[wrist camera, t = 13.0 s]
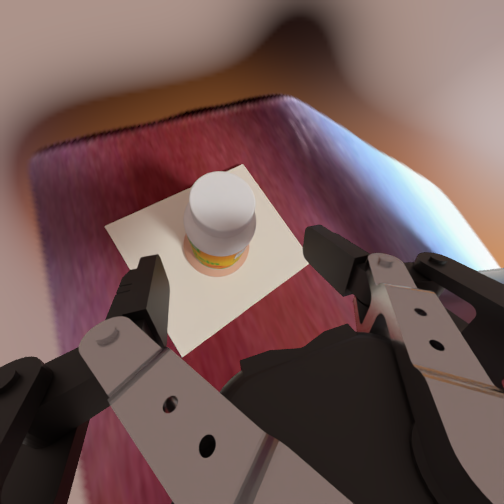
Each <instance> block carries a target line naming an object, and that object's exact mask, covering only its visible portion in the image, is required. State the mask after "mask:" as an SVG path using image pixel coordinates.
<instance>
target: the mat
mask: <svg viewBox="0 0 504 504" xmlns="http://www.w3.org/2000/svg"><path fill="white" fill-rule="evenodd" d="M226 172H229V173H232V174H235V175H237V176H239V177H240V178H242V179H243V180H244V181H245V182H246V183H247V184H248V185H249V186H250V188H251V189H252V191H253V194H254V197H255V215H256V229H255V233H254V235H253V238H252V240H251V241H250V243H249V253H248V256H247V258H246V260H245V262H244V263H243V265H242V266H241V267H240V268H239V269H238V270H237V271H235V272H234V273H232V274H229V275H227V276H223V277H211V276H207V275H204V274H202V273H200V272H198V271H197V270H195V269H194V268H193V267H192V266H191V264H190V263H189V262H188V260H187V258H186V256H185V253H184V246H183V244H184V237H185V235H186V232H185V228H184V222H183V217H184V211H185V208H186V206H187V204H188V202H189V194H190V190H191V188H192V187H191V188H188V189H186V190H184V191H182V192H180V193H177V194H175V195H173V196H171V197H168V198H166V199H164V200H162V201H160V202H157V203H155V204H153V205H151V206H148V207H146V208H144V209H142V210H139V211H137V212H135V213H133V214H131V215H128V216H126V217H124V218H122V219H119V220H117V221H115V222H113V223H111V224H108V225H106V226H105V228H106V230H107V232H108V233H109V235H110V237H111V238H112V240H113V242H114V243H115V245H116V247H117V248H118V250H119V252H120V253H121V255H122V257H123V259H124V260H125V262H126V264H127V265H128V267H129V269H130V270H132V269H137V267H138V264H139V260H140V258H141V257H145V256H150V255H156V254H158V255H159V256H160V258H161V261H162V263H163V266H164V269H165V272H166V275H167V278H168V281H169V285H170V298H169V313H168V328H167V333H168V334H169V336H170V338H171V339H172V341H173V343H174V344H175V346H176V348H177V350H178V351H179V353H180V355H181V356H182V357H183V356H185V355H186V354H188V353H189V352H190V351H192V350H193V349H194V348H196V347H197V346H198V345H200V344H201V343H202V342H204V341H205V340H206V339H208V338H209V337H210V336H212V335H213V334H215V333H216V332H217V331H219V330H220V329H221V328H223V327H224V326H225V325H227V324H228V323H229V322H231V321H232V320H233V319H235V318H236V317H238V316H239V315H240V314H242V313H243V312H244V311H246V310H247V309H248V308H250V307H251V306H252V305H254V304H255V303H256V302H258V301H259V300H260V299H262V298H263V297H265V296H266V295H267V294H269V293H270V292H271V291H273V290H274V289H275V288H277V287H278V286H279V285H281V284H282V283H283V282H285V281H286V280H288V279H289V278H290V277H292V276H293V275H294V274H296V273H297V272H298V271H300V270H301V269H302V268H304V267H305V266H306V265H308V264H309V263H308V262H307V261H306V260H305V258H304V256H303V248H302V246H301V245H300V243H299V242H298V241H297V239H296V238H295V236H294V235H293V234H292V232H291V231H290V229H289V228H288V227H287V225H286V224H285V222H284V221H283V220H282V218H281V217H280V215H279V214H278V212H277V211H276V210H275V208H274V207H273V205H272V204H271V203H270V201H269V200H268V198H267V197H266V196H265V194H264V193H263V191H262V190H261V189H260V187H259V186H258V184H257V183H256V182H255V180H254V179H253V177H252V176H251V175H250V173H249V172H248V170H247V169H246V168H245V166H244V165H243V164H242V165H240V166H237V167H235V168H233V169H231V170H229V171H226Z"/></svg>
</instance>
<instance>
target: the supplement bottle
mask: <svg viewBox="0 0 504 504" xmlns="http://www.w3.org/2000/svg"><path fill="white" fill-rule="evenodd" d="M183 222H184V228H185V232H186V234H187V237H188V239H189V242H190V245H191V248H192V251H193V253H194V255H195V257H196V259H197V260H198V261H199V262H200V263H201V264H202V265H204V266H205V267H207V268H210V269H215V270H221V269H226V268H228V267H230V266H232V265H234V264H235V263H236V262H237V261H238V260H239V258H240V257H241V255H242V254H243V252H244V251H245V249H246V248H247V246H248V244H249V243H250V241H251V240H252V238H253V235H254V233H255V229H256V215H255V197H254V194H253V191H252V189H251V188H250V186H249V185H248V184H247V183H246V182H245V181H244V180H243V179H242V178H240V177H239V176H237V175H235V174H232V173H229V172H222V171H217V172H211V173H208V174H205V175H203V176H202V177H200V178H199V179H198V180H197V181H196V182H195V183H194V184H193V186H192V188H191V190H190V194H189V202H188V204H187V206H186V208H185V211H184V217H183Z"/></svg>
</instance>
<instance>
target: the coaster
mask: <svg viewBox="0 0 504 504" xmlns="http://www.w3.org/2000/svg"><path fill="white" fill-rule="evenodd" d="M183 246H184V253H185V256H186V258H187V260H188V262H189V263H190V264H191V266H192V267H193V268H194V269H195V270H197V271H198V272H200V273H202V274H204V275H207V276H211V277H223V276H227V275H229V274H232V273H234V272H235V271H237V270H238V269H239V268H240V267H241V266H242V265H243V263H244V262H245V260H246V258H247V256H248V253H249V244H248V246H247V248H246V249H245V251H244V252H243V254H242V255H241V257H240V258H239V260H238V261H237V262H236V263H235V264H234V265H232V266H230V267H228V268H226V269H221V270H215V269H210V268H207V267H205V266H204V265H202V264H201V263H200V262H199V261H198V260H197V259H196V257H195V255H194V253H193V251H192V248H191V245H190V242H189V239H188V237H187V234H186V235H185V237H184V244H183Z"/></svg>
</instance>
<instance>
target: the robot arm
mask: <svg viewBox="0 0 504 504" xmlns="http://www.w3.org/2000/svg"><path fill="white" fill-rule="evenodd" d="M303 256H304V258H305V260H306V261H307V262H308V263H309V264H310V265H311V266H312V267H313V268H314V269H315V270H316V271H317V272H318V273H319V274H320V275H321V276H322V277H323V278H324V279H326V280H327V281H328V282H329V283H330V284H331V285H332V286H333V287H334V288H335V289H336V290H337V291H338V292H339V293H340V294H341V295H342V296H343V297H344V296H347V295H351V294H354V295H355V296H354V299H353V305H354V313H355V320H356V328H357V332H355V331H354V330H353V329H352V328H351V327H350V326H349V324H345V325H342V326H339V327H336V328H333V329H330V330H327V331H324V332H323V333H322V334H320V335H319V336H318V337H316V338H315V339H314V340H312V341H311V342H310V343H308V344H307V345H306V346H304V347H302V348H296V349H282V350H269V351H266V352H263V353H261V354H258V355H255V356H252V357H249V358H246V359H243V360H240V365H241V371H240V372H239V373H237V374H236V375H235V376H234V377H232V378H231V379H230V380H229V381H228V382H227V384H226V385H225V386H224V387H223V388H222V390H221V391H220V393H219V392H218V391H217V390H216V389H215V388H214V387H213V386H211V385H210V384H209V383H208V382H207V381H206V380H205V379H204V378H202V377H201V376H200V375H199V374H198V373H197V372H196V371H195V370H193V369H192V368H191V367H190V366H189V365H188V364H187V363H185V362H184V361H183V360H182V359H181V358H180V357H179V356H178V355H176V354H175V353H174V352H173V351H172V350H171V349H169V348H168V347H166V343H167V328H168V313H169V298H170V285H169V281H168V278H167V275H166V272H165V269H164V266H163V263H162V261H161V258H160V256H159V255H158V254H156V255H150V256H145V257H141V258H140V260H139V264H138V267H137V269H132V270H130V271H129V272H128V273H127V274H126V275H125V276H124V277H123V278H122V280H121V283H120V285H119V288H118V290H117V295H115V297H114V300H113V302H112V305H111V307H110V310H109V312H108V315H107V317H106V319H105V321H103V322H101V323H99V324H97V325H96V326H95V327H93V328H92V329H91V330H90V331H89V332H88V333H87V334H86V335H85V336H84V337H83V339H82V340H81V342H80V344H79V347H78V348H76V349H74V350H72V351H70V352H68V353H66V354H64V355H62V356H60V357H58V358H55V359H53V360H51V361H49V362H47V363H45V364H44V363H43V362H42V361H41V360H40V359H38V358H37V357H25V358H21V359H18V360H15V361H12V362H10V363H8V364H6V365H4V366H2V367H0V504H67V502H68V498H69V495H70V491H71V487H72V483H73V480H74V476H75V472H76V469H77V465H78V461H79V457H80V454H81V450H82V446H83V442H84V439H85V435H86V431H87V427H88V424H89V420H90V418H92V417H93V416H95V415H96V414H98V413H100V412H101V411H103V410H104V409H106V408H107V407H109V406H111V407H112V409H113V410H114V412H115V413H116V415H117V416H118V418H119V420H120V421H121V423H122V424H123V426H124V427H125V429H126V430H127V432H128V433H129V435H130V436H131V438H132V439H133V441H134V443H135V444H136V446H137V447H138V449H139V450H140V452H141V453H142V455H143V456H144V458H145V459H146V461H147V462H148V464H149V466H150V467H151V469H152V470H153V472H154V473H155V475H156V476H157V478H158V479H159V481H160V482H161V484H162V485H163V487H164V489H165V490H166V492H167V493H168V495H169V496H170V498H171V499H172V503H171V504H504V268H500V269H491V270H483V271H475V270H473V269H471V268H469V267H467V266H465V265H463V264H461V263H459V262H457V261H455V260H452V259H450V258H448V257H446V256H443V255H440V254H436V253H429V252H424V253H420V254H418V256H417V258H416V260H415V262H408V263H403V262H402V261H401V260H400V259H398V258H396V257H394V256H392V255H388V254H384V253H373V254H369V253H368V252H366V251H364V250H363V249H361V248H359V247H358V246H356V245H355V244H353V243H351V242H350V241H348V240H347V239H345V238H343V237H342V236H340V235H339V234H336V233H333V232H331V231H330V230H328V229H327V228H325V227H323V226H322V225H315V226H309V227H307V228H306V230H305V236H304V244H303Z"/></svg>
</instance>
